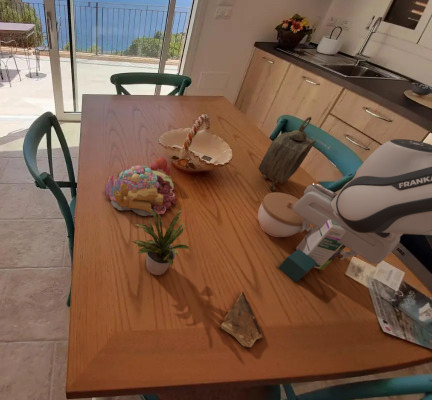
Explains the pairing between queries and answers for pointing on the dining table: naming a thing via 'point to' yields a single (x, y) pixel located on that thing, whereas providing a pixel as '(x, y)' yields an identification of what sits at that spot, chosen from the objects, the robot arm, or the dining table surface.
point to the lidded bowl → (279, 215)
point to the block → (297, 265)
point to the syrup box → (323, 243)
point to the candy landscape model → (143, 189)
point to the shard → (242, 323)
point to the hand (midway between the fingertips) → (321, 244)
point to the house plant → (161, 245)
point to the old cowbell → (286, 155)
